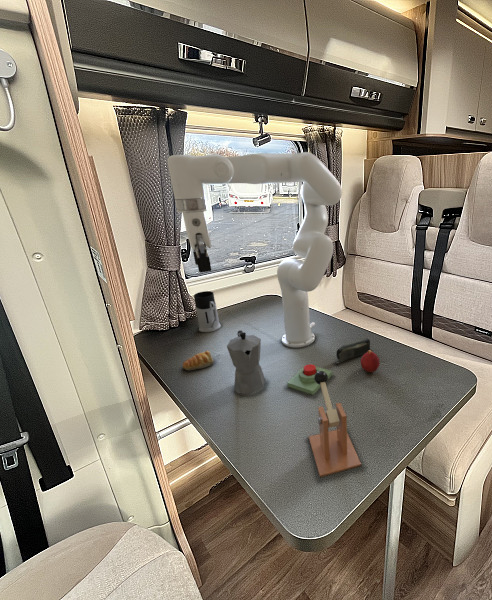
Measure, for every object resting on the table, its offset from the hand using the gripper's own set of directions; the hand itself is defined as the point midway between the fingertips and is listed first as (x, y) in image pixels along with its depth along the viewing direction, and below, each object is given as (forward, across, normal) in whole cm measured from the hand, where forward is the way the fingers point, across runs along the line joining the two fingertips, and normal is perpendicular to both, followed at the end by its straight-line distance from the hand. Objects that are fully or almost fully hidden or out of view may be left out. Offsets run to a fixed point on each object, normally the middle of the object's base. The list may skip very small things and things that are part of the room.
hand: (203, 267), depth 91 cm
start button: (+31, -20, -23) cm, 44 cm away
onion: (+35, -25, -41) cm, 59 cm away
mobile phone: (+35, -14, -41) cm, 56 cm away
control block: (+35, -20, -22) cm, 46 cm away
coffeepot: (+35, -12, -6) cm, 38 cm away
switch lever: (+24, -42, -17) cm, 52 cm away
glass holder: (+35, +34, -2) cm, 49 cm away
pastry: (+35, +7, +6) cm, 36 cm away
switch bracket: (+35, -48, -16) cm, 61 cm away
